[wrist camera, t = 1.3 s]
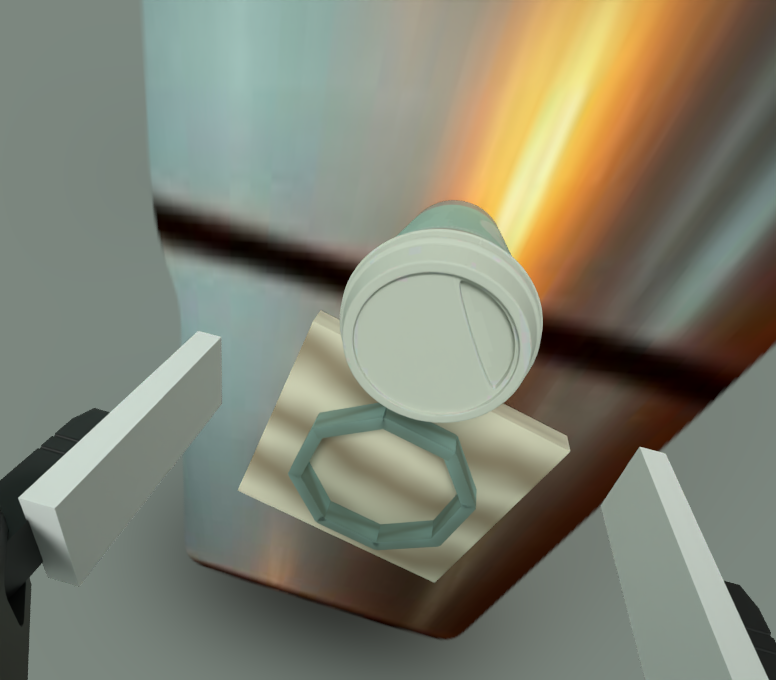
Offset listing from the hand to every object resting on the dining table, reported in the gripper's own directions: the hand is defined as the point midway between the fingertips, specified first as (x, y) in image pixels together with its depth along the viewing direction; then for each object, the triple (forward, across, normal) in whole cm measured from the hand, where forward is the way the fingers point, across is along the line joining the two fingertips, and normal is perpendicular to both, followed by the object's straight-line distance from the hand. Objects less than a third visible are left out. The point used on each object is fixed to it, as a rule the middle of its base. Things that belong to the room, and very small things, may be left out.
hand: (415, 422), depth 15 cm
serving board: (+16, 0, -19) cm, 25 cm away
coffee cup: (+16, 0, 0) cm, 17 cm away
